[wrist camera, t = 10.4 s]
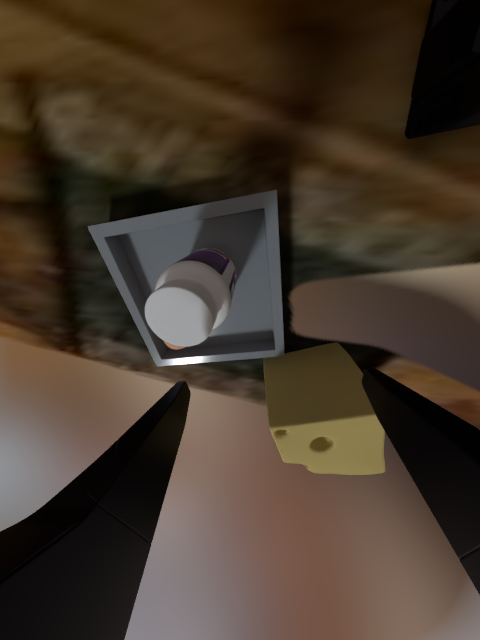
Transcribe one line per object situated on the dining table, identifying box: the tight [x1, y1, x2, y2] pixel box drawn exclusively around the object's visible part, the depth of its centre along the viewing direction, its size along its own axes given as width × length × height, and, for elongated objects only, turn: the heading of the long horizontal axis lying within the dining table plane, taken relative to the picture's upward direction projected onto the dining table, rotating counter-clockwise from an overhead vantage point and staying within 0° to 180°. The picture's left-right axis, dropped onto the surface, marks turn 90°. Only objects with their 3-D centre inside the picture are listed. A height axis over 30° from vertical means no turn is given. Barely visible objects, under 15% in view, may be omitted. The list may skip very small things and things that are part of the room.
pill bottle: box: [145, 248, 237, 347], centre depth 15 cm, size 5×5×10 cm
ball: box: [164, 341, 185, 350], centre depth 21 cm, size 3×3×3 cm
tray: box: [88, 190, 285, 366], centre depth 19 cm, size 16×16×3 cm
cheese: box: [264, 342, 385, 475], centre depth 21 cm, size 10×11×10 cm
